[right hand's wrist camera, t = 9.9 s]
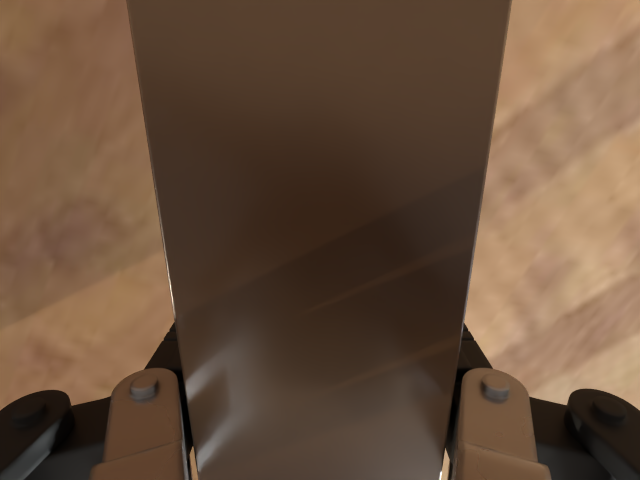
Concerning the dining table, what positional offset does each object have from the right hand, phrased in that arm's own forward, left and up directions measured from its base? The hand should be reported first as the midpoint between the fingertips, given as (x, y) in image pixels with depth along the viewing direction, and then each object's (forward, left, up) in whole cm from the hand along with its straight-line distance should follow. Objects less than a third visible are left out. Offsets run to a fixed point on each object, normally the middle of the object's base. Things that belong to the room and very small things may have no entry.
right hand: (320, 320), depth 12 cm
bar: (+8, +5, -4) cm, 10 cm away
